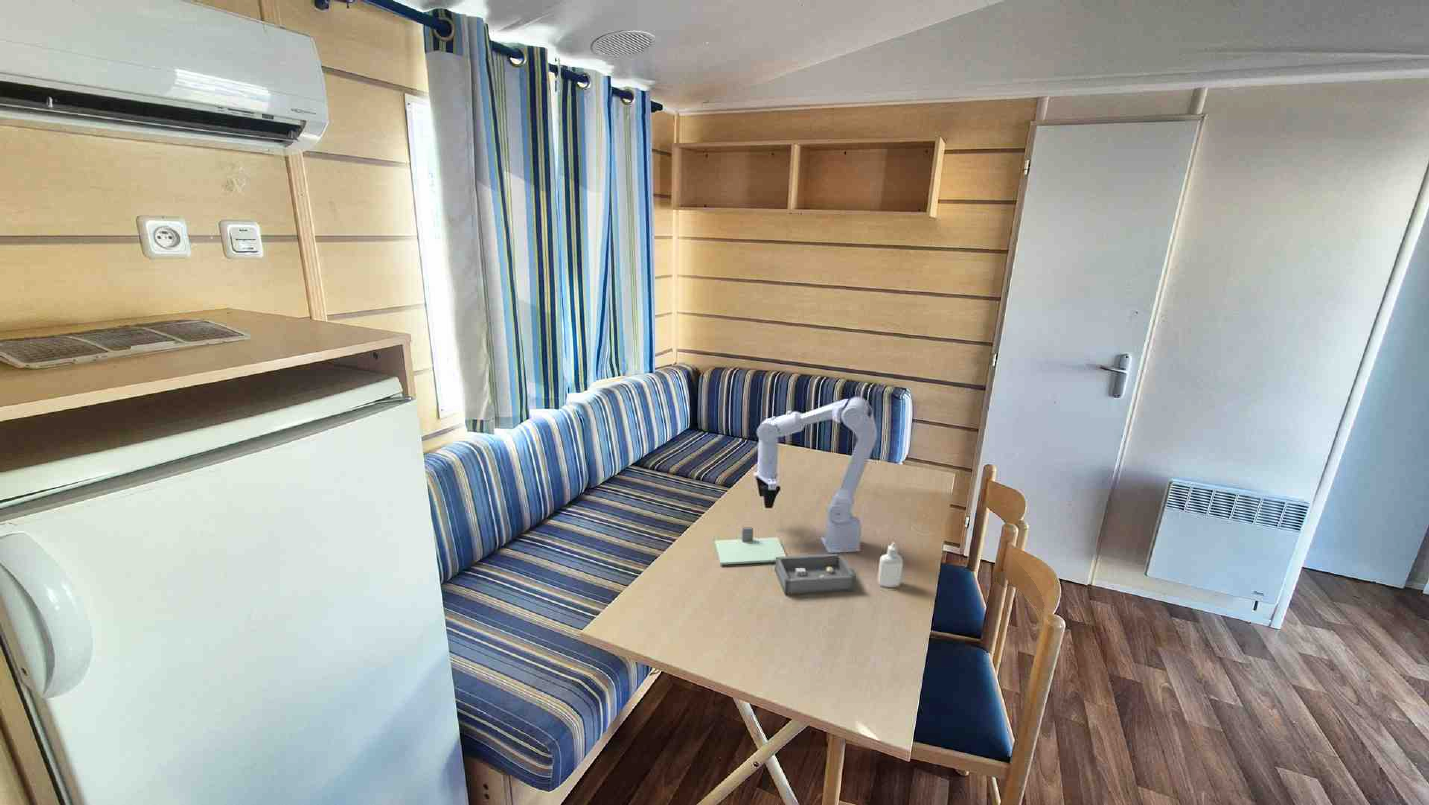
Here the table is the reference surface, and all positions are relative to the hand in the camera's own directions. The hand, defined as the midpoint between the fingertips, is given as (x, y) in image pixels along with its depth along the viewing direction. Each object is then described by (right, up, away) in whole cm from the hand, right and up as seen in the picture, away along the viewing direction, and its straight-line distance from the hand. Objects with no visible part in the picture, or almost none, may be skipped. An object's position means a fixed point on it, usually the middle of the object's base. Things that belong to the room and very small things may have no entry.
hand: (765, 501), depth 171 cm
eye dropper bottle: (+30, -18, -22) cm, 41 cm away
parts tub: (+11, -17, -21) cm, 29 cm away
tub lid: (-5, -12, -9) cm, 16 cm away
